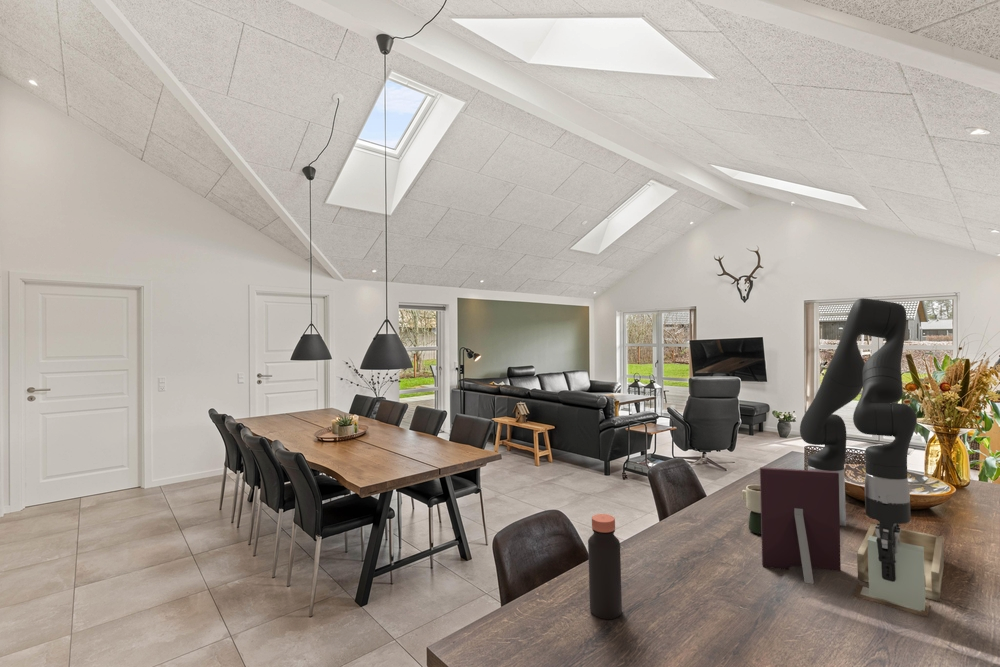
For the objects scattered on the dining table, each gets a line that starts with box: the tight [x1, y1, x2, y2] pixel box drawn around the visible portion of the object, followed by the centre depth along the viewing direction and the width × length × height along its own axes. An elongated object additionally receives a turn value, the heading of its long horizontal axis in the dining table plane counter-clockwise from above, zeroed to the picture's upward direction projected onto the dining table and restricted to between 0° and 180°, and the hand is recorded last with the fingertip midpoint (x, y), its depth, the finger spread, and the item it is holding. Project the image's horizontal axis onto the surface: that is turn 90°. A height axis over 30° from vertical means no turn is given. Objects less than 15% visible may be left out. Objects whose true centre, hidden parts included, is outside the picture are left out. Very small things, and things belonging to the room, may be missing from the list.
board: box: [853, 583, 930, 618], centre depth 102 cm, size 12×6×2 cm, turn 45°
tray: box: [856, 522, 945, 602], centre depth 115 cm, size 14×24×7 cm, turn 135°
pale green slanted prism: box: [867, 535, 926, 611], centre depth 101 cm, size 9×3×12 cm, turn 46°
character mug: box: [741, 484, 761, 535], centre depth 141 cm, size 11×7×13 cm, turn 30°
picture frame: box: [759, 467, 842, 585], centre depth 114 cm, size 17×10×25 cm, turn 71°
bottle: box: [587, 513, 623, 620], centre depth 103 cm, size 7×7×20 cm
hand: (889, 576), depth 102 cm, fingers closed on pale green slanted prism, 3 cm apart
